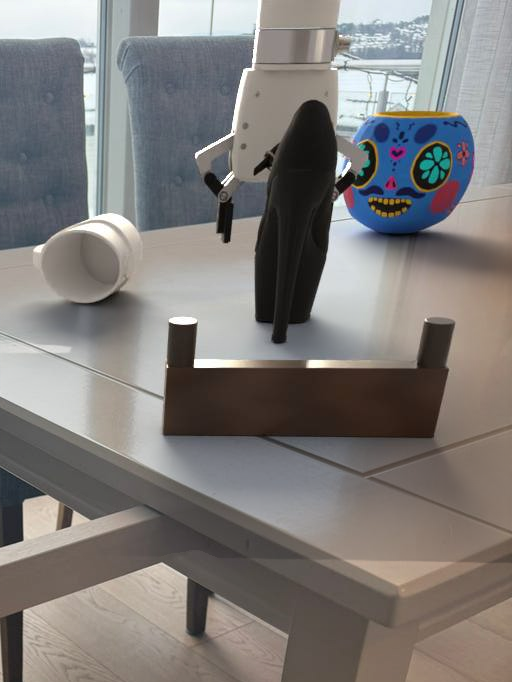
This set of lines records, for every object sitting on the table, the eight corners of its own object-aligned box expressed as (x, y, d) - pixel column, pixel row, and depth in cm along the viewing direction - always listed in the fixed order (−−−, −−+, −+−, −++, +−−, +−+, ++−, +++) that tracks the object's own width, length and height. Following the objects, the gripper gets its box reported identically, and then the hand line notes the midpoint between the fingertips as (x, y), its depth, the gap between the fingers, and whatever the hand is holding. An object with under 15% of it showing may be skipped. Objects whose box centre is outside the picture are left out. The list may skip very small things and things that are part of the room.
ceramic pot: (317, 237, 133) (334, 117, 124) (349, 218, 145) (366, 108, 137) (447, 247, 125) (473, 119, 117) (469, 226, 138) (494, 109, 130)
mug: (147, 290, 107) (151, 215, 103) (121, 309, 100) (123, 229, 96) (52, 282, 112) (51, 210, 107) (20, 300, 104) (18, 223, 100)
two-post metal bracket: (426, 427, 69) (450, 316, 65) (434, 437, 67) (459, 324, 63) (161, 425, 70) (168, 317, 66) (162, 434, 69) (169, 324, 64)
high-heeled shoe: (316, 301, 101) (347, 89, 90) (321, 350, 86) (359, 101, 75) (242, 299, 103) (263, 89, 92) (234, 346, 87) (258, 102, 77)
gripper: (375, 50, 93) (346, 234, 102) (200, 52, 94) (187, 234, 103) (394, 51, 86) (360, 248, 96) (206, 54, 88) (191, 248, 97)
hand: (270, 241), depth 99 cm, fingers open, 9 cm apart
